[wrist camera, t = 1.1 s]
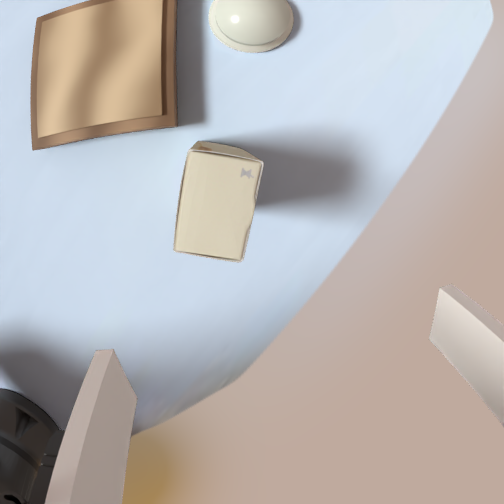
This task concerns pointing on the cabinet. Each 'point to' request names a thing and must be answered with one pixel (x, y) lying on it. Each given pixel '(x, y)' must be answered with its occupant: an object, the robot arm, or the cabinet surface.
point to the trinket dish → (251, 23)
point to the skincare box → (217, 201)
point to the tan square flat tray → (103, 70)
